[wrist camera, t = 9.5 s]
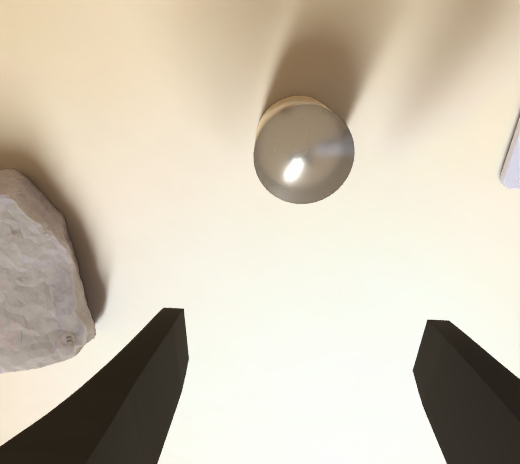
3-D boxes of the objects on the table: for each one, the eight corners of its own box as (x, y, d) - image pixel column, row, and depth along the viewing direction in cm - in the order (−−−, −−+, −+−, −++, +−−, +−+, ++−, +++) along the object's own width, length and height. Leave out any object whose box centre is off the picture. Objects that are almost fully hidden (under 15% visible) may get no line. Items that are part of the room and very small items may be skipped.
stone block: (47, 145, 20) (-125, 196, 20) (7, 167, 16) (-214, 233, 16) (134, 305, 26) (-2, 347, 25) (121, 354, 21) (-42, 405, 21)
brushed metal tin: (333, 87, 16) (349, 94, 13) (342, 170, 18) (358, 194, 15) (248, 104, 17) (244, 115, 14) (264, 185, 18) (264, 211, 15)
